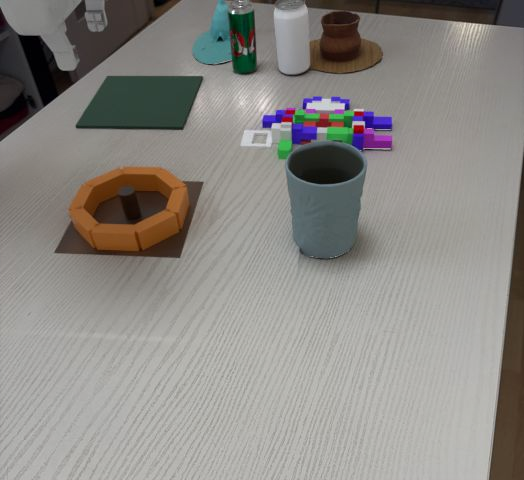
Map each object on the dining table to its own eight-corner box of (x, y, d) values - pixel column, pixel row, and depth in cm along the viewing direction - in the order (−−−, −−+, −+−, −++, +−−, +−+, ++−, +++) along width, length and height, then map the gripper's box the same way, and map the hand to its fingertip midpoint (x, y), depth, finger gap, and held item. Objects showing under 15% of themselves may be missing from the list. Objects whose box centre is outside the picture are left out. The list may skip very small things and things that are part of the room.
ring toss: (55, 257, 76) (42, 228, 72) (94, 183, 87) (85, 154, 83) (180, 262, 74) (174, 233, 70) (204, 185, 85) (200, 156, 82)
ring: (62, 248, 76) (55, 231, 74) (97, 182, 86) (92, 165, 84) (174, 252, 74) (170, 235, 72) (196, 184, 84) (193, 167, 82)
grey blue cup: (348, 269, 72) (356, 191, 62) (276, 254, 74) (273, 177, 65) (366, 223, 77) (376, 145, 68) (299, 211, 80) (299, 134, 71)
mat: (76, 128, 99) (75, 125, 99) (107, 78, 111) (107, 75, 111) (183, 129, 97) (182, 126, 96) (203, 78, 109) (202, 75, 109)
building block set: (390, 103, 99) (393, 78, 96) (392, 166, 86) (396, 140, 83) (254, 101, 102) (253, 77, 99) (237, 161, 89) (235, 136, 86)
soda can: (253, 62, 113) (249, -4, 104) (260, 72, 110) (257, 5, 101) (229, 66, 112) (223, 1, 103) (236, 76, 109) (231, 10, 100)
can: (276, 63, 112) (270, -2, 102) (307, 57, 112) (304, -8, 102) (280, 78, 108) (274, 12, 98) (312, 72, 108) (310, 6, 98)
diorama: (184, 65, 114) (177, 19, 107) (202, 27, 126) (196, -16, 120) (241, 65, 112) (238, 19, 106) (253, 26, 125) (251, -17, 118)
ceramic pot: (280, 61, 112) (279, 24, 107) (324, 31, 121) (325, -5, 116) (357, 81, 105) (360, 42, 100) (398, 47, 114) (403, 9, 109)
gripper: (45, -149, 53) (87, 10, 63) (-56, -95, 40) (18, 92, 51) (107, -152, 52) (139, 9, 63) (25, -98, 39) (83, 93, 50)
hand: (85, 47), depth 57 cm, fingers open, 8 cm apart
